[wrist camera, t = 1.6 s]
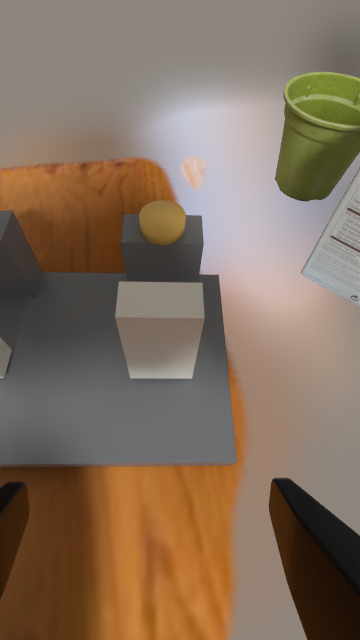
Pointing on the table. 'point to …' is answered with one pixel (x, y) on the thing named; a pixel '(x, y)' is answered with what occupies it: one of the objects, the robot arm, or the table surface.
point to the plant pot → (318, 133)
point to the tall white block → (160, 327)
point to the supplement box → (340, 249)
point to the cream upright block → (4, 357)
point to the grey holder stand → (107, 358)
